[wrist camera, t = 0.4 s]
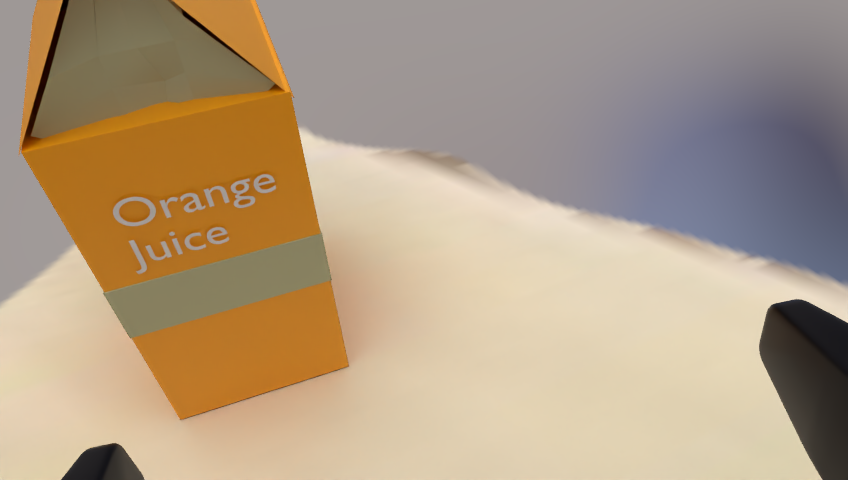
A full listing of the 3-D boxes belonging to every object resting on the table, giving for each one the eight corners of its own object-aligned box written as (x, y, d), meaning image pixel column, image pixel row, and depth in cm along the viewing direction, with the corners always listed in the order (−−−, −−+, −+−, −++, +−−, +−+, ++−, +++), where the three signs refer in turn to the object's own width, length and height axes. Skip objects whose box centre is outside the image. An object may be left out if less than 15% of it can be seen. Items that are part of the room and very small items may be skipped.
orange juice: (308, 236, 36) (208, -195, 22) (352, 366, 30) (255, -104, 16) (159, 277, 35) (-55, -160, 20) (175, 422, 29) (-110, -45, 14)
